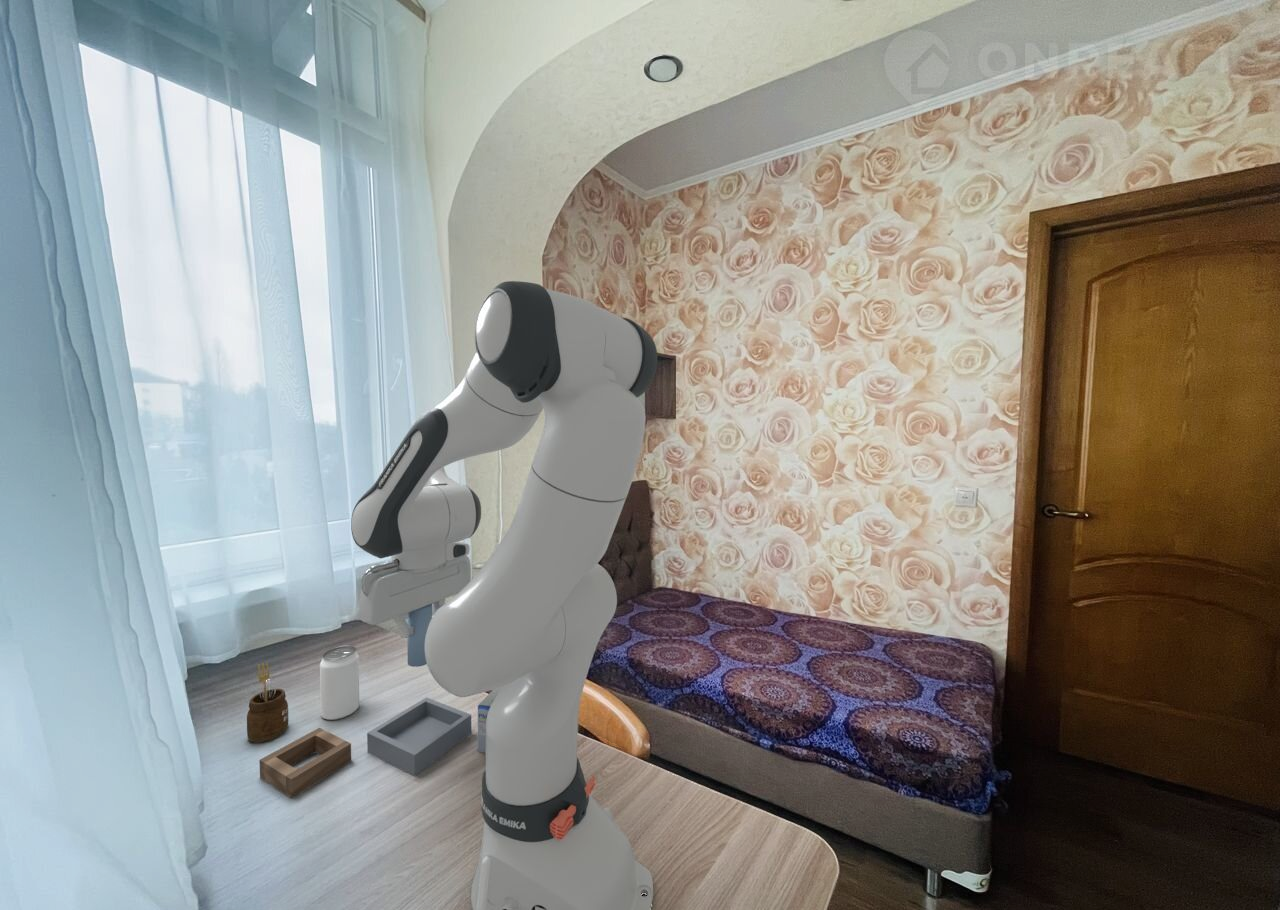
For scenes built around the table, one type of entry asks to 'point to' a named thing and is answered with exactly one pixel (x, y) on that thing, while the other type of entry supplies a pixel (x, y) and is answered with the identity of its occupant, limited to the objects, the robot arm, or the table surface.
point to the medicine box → (484, 718)
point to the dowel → (418, 635)
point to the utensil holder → (267, 712)
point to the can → (339, 682)
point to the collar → (295, 781)
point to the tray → (419, 735)
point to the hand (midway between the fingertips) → (420, 630)
